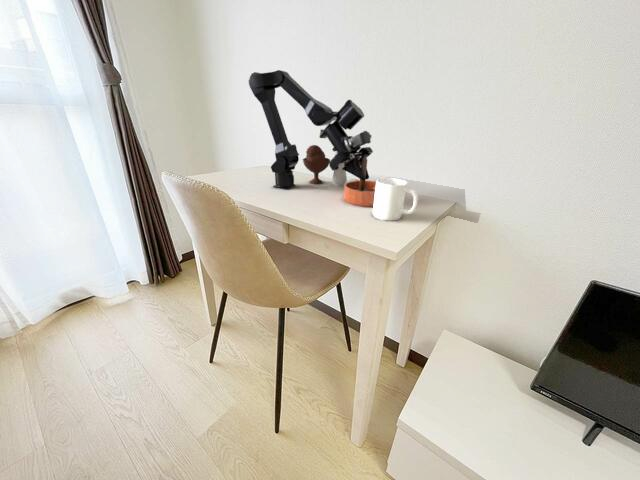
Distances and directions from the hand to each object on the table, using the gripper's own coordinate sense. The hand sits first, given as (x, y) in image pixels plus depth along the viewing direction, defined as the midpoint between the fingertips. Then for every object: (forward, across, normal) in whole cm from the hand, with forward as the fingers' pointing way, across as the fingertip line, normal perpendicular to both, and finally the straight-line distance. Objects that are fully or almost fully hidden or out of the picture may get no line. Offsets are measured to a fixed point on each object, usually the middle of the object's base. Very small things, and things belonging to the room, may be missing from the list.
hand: (366, 179), depth 83 cm
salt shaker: (-7, +12, +18) cm, 23 cm away
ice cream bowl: (-14, +9, +25) cm, 30 cm away
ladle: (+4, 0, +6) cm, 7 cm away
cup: (+15, -7, -4) cm, 17 cm away
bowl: (+5, +1, +6) cm, 8 cm away
